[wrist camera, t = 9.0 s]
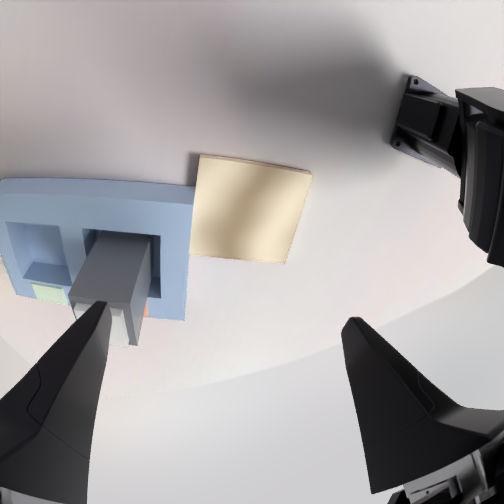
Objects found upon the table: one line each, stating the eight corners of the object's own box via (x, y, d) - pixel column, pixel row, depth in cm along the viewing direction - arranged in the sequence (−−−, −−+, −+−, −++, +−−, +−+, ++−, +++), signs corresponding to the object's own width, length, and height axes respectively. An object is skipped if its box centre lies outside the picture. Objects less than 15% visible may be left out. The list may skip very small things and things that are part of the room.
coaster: (309, 171, 20) (313, 175, 19) (283, 258, 24) (285, 263, 23) (200, 154, 18) (199, 157, 17) (189, 249, 22) (188, 254, 22)
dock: (196, 186, 19) (192, 206, 17) (186, 298, 26) (184, 324, 23) (4, 178, 16) (-17, 194, 13) (28, 277, 22) (16, 297, 19)
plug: (153, 227, 20) (127, 312, 13) (154, 268, 23) (136, 353, 16) (106, 223, 20) (64, 302, 13) (110, 263, 22) (80, 344, 15)
